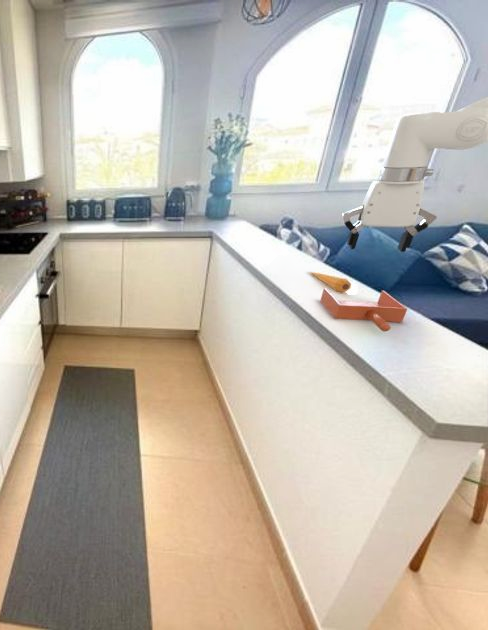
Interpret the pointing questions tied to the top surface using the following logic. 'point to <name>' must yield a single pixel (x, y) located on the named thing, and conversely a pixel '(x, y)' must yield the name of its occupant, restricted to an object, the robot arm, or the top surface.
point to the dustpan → (366, 309)
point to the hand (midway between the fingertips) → (375, 249)
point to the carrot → (334, 282)
